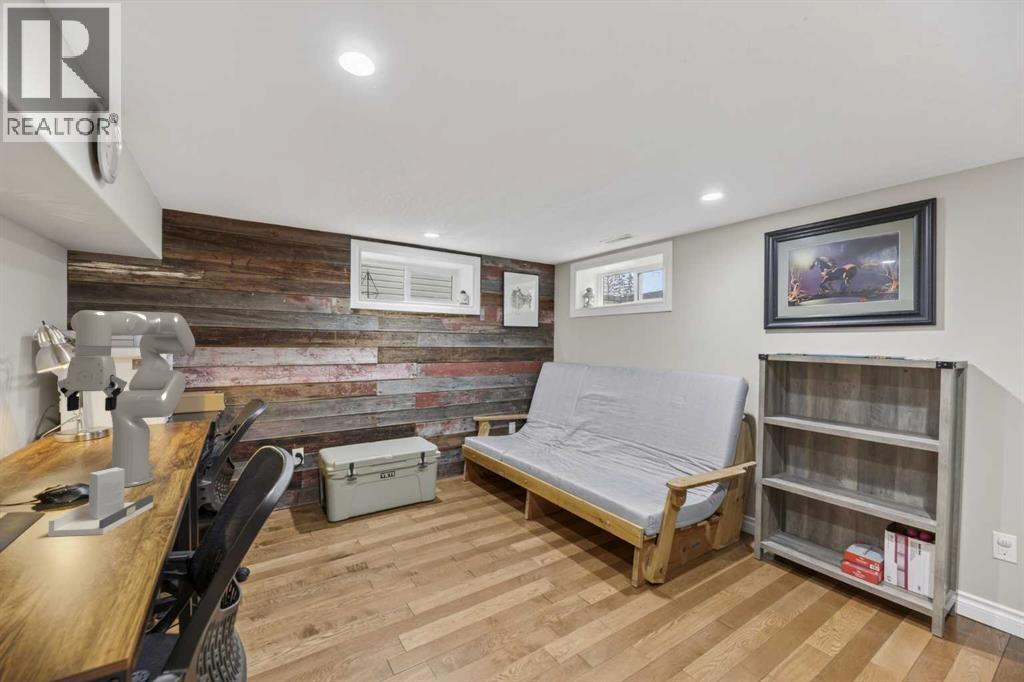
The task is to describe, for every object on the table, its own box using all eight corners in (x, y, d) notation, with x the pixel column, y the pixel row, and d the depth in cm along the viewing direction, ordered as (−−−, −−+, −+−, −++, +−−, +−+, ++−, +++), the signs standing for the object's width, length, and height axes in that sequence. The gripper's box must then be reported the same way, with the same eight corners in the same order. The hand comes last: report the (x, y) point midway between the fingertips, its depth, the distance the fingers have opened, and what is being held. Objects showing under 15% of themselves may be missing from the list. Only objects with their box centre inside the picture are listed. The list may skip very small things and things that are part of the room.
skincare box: (116, 509, 117) (117, 466, 118) (124, 512, 116) (125, 468, 116) (87, 517, 112) (88, 472, 112) (95, 520, 110) (97, 474, 110)
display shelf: (106, 508, 122) (107, 494, 122) (152, 506, 123) (153, 493, 123) (48, 536, 104) (48, 520, 104) (103, 534, 106) (103, 518, 106)
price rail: (149, 501, 123) (149, 495, 123) (153, 501, 123) (154, 494, 123) (99, 528, 106) (99, 520, 106) (104, 528, 106) (104, 520, 106)
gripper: (47, 352, 118) (45, 412, 118) (116, 353, 121) (115, 412, 121) (71, 351, 125) (69, 408, 125) (135, 352, 128) (134, 408, 128)
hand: (91, 410), depth 123 cm, fingers open, 9 cm apart
